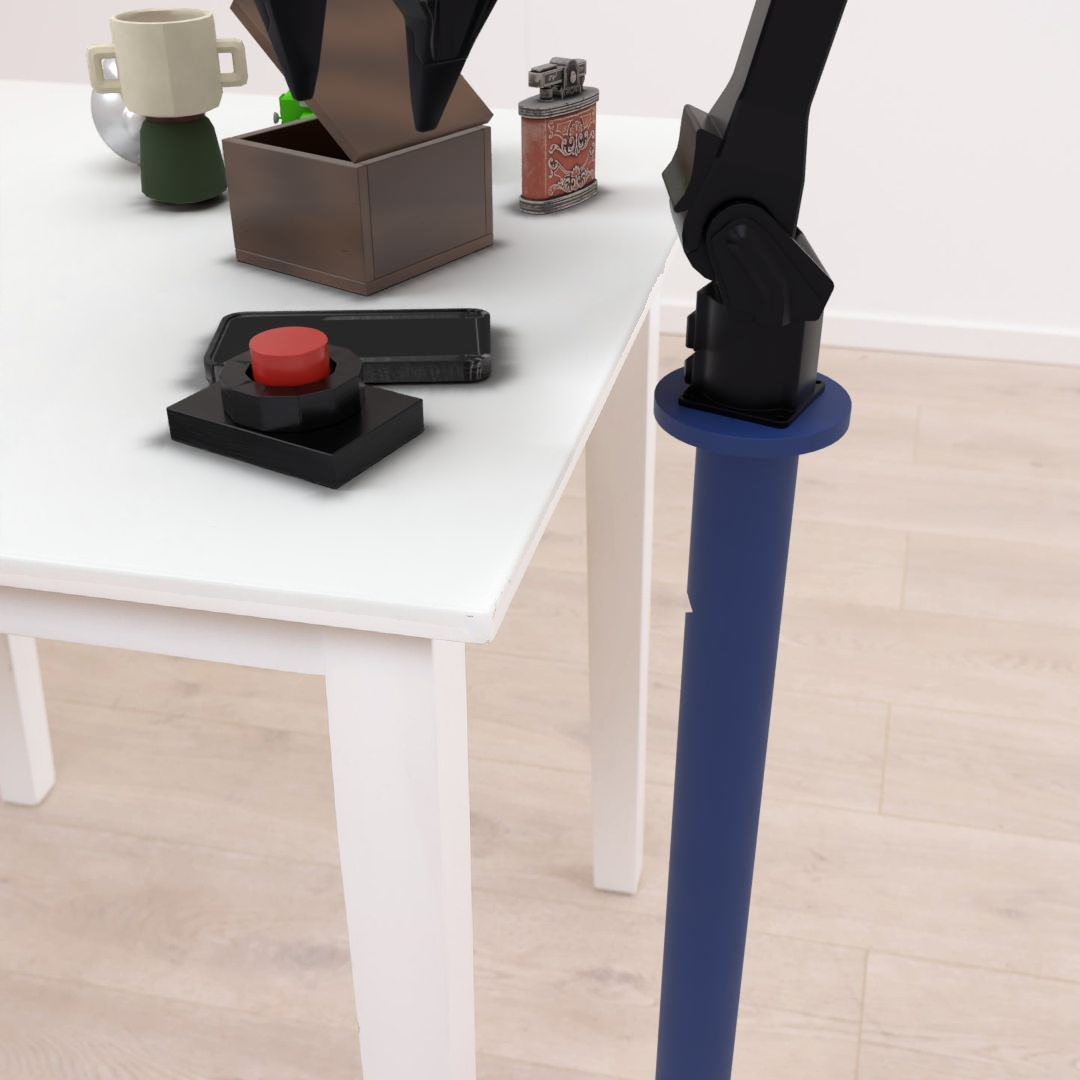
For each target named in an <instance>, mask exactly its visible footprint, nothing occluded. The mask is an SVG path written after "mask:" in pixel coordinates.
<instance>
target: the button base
mask: <svg viewBox="0 0 1080 1080" xmlns="http://www.w3.org/2000/svg"><path fill="white" fill-rule="evenodd" d="M328 348H329V359H330V370H331V373H330V375H329V376H327V377H325V378H323V379H321V380H320V381H318V382H313V383H308V384H304V385H299V386H269V385H266V384H262V383H258V382H255V381H254V378H253V372H252V364H251V355H250V350H248V351H246V352H244V353H242V354H240V355H238V356H236V357H234V358H232V359H230V360H228V361H226V363H225V365H224V367H223V368H222V370H221V372H220V374H219V381H218V382H216V383H214V384H212V383H211V384H210V385H208V386H206V387H204V388H202V389H200V390H198V391H196V392H194V393H193V394H190V395H189V396H186V397H184V398H182V399H180V400H178V401H176V402H174V403H172V404H171V405H169V406H167V407H166V408H165V410H166V416H167V422H168V430H169V435H170V439H171V440H173V441H176V442H180V443H183V444H187V445H190V446H193V447H196V448H199V449H203V450H206V451H210V452H213V453H216V454H220V455H223V456H225V457H226V456H227V457H230V458H233V459H236V460H238V461H239V460H240V461H243V462H246V463H249V464H252V465H256V466H259V467H262V468H266V469H269V470H273V471H276V472H279V473H283V474H286V475H289V476H293V477H295V478H299V479H303V480H304V481H305V480H306V481H309V482H312V483H315V484H319V485H323V486H325V487H329V488H332V489H336V488H338V487H340V486H341V485H343V484H344V483H346V482H348V481H350V480H351V479H352V478H354V477H355V476H356V475H358V474H360V473H361V472H363V471H364V470H366V469H368V468H369V467H370V466H372V465H373V464H375V463H377V462H378V461H379V460H381V459H382V458H384V457H386V456H387V455H388V454H390V453H392V452H394V451H395V450H396V449H398V448H399V447H401V446H402V445H404V444H405V443H407V442H409V441H410V440H412V439H413V438H415V437H416V436H417V435H419V434H421V433H423V431H425V417H424V416H425V415H424V414H425V413H424V399H423V398H422V397H421V398H420V397H416V396H412V395H408V394H405V393H400V392H397V391H393V390H389V389H385V388H381V387H377V386H373V385H369V384H367V383H364V372H363V361H362V360H361V359H360V358H359V357H357V356H356V355H355V354H354V353H353V352H352V351H351V350H349V349H347V348H342V347H338V346H334V345H330V344H328Z"/></svg>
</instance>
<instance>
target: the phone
mask: <svg viewBox="0 0 1080 1080" xmlns="http://www.w3.org/2000/svg"><path fill="white" fill-rule="evenodd" d="M281 327H307V328H313V329H317V330H319V331H321V332H323V333H324V334H325V335H326V336H327V338H328V344H330V345H334V346H338V347H342V348H347V349H349V350H351V351H352V352H353V353H354V354H355V355H356V356H357V357H359V358H360V359H361V360H362V361H363V372H364V384H368V383H369V384H373V383H423V382H424V383H425V382H428V383H429V382H432V383H433V382H434V383H435V382H436V383H437V382H474V381H478V380H483V379H486V378H487V377H489V376H490V375H491V373H492V343H491V342H492V338H491V337H492V336H491V314H490V312H489V311H487V310H485V309H482V308H477V307H457V308H456V307H454V308H453V307H452V308H451V307H450V308H449V307H448V308H447V307H445V308H392V309H391V308H389V309H387V308H386V309H383V308H382V309H327V310H326V309H325V310H322V309H321V310H320V309H319V310H315V309H313V310H260V311H259V310H254V311H253V310H251V311H248V310H247V311H237V312H231V313H228V314H226V315H224V316H223V317H221V319H220V321H219V324H218V325H217V328H216V330H215V332H214V334H213V337H212V339H211V341H210V343H209V345H208V347H207V349H206V351H205V353H204V355H203V365H204V373H205V380H206V381H207V382H208V383H210V384H211V385H212V384H214V383H216V382H218V381H219V374H220V372H221V370H222V368H223V367H224V365H225V363H226V361H228V360H230V359H232V358H234V357H236V356H238V355H240V354H242V353H244V352H246V351H248V350H250V347H249V343H250V340H251V339H252V338H253V337H254V336H256V335H257V334H259V333H262V332H264V331H267V330H271V329H275V328H281Z"/></svg>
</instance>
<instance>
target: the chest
mask: <svg viewBox="0 0 1080 1080" xmlns="http://www.w3.org/2000/svg"><path fill="white" fill-rule="evenodd" d="M221 148H222V157H223V162H224V166H225V172H226V180H227V196H228V203H229V211H230V217H231V218H230V219H231V221H230V222H231V227H232V236H233V244H234V252H235V259H236V261H239V262H243V263H246V264H250V265H254V266H256V267H260V268H264V269H268V270H272V271H275V272H279V273H283V274H286V275H289V276H293V277H297V278H300V279H303V280H306V281H307V280H308V281H311V282H315V283H319V284H322V285H326V286H329V287H334V288H337V289H341V290H344V291H347V292H351V293H355V294H359V295H361V296H367V297H368V296H370V295H373V294H376V293H377V292H379V291H382V290H384V289H386V288H389V287H391V286H394V285H397V284H399V283H402V282H404V281H407V280H409V279H411V278H413V277H416V276H418V275H420V274H423V273H425V272H428V271H430V270H433V269H435V268H438V267H440V266H443V265H445V264H448V263H450V262H452V261H454V260H457V259H459V258H462V257H465V256H467V255H470V254H472V253H474V252H476V251H479V250H482V249H484V248H487V247H489V246H492V245H494V204H493V159H492V158H493V157H492V155H493V154H492V127H491V126H490V125H486V124H483V125H480V126H477V127H474V128H470V129H467V130H464V131H461V132H457V133H454V134H451V135H447V136H444V137H441V138H438V139H434V140H431V141H428V142H425V143H421V144H418V145H415V146H412V147H408V148H405V149H402V150H399V151H395V152H392V153H389V154H385V155H382V156H379V157H376V158H372V159H369V160H366V161H363V162H359V163H356V164H354V163H353V162H352V161H351V160H350V158H349V157H348V156H347V155H346V153H345V152H344V151H343V150H342V148H341V147H340V146H339V145H338V143H337V142H336V141H335V140H334V138H333V137H332V136H331V135H330V133H329V132H328V131H327V130H326V128H325V127H324V126H323V125H322V123H321V122H320V121H319V120H318V118H317V117H316V116H315V115H314V116H310V117H306V118H302V119H299V120H295V121H291V122H287V123H283V124H281V123H280V124H275V125H273V126H269V127H265V128H261V129H257V130H253V131H249V132H245V133H241V134H237V135H233V136H230V137H225V138H222V139H221Z"/></svg>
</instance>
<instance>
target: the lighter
mask: <svg viewBox="0 0 1080 1080" xmlns="http://www.w3.org/2000/svg"><path fill="white" fill-rule="evenodd" d="M586 75H587V59H585V58H569V57H561V56H554V57H552V58H550V60H549V62H548V63H544V64H540V65H537V66H532V67H531V68H530V70H529V71H528V73H527V77H528V79H527V80H528V82H527V83H528V87H529V88H533V89H535V88H536V89H539V93H537V94H535V95H533V96H529V97H526V98H525V99H523V100H520V101H519V102H518V103H517V112H518V113H517V114H518V116H520V134H521V135H520V136H521V137H520V139H521V141H520V143H521V146H520V147H521V152H520V153H521V194H520V195H519V197H518V198H519V199H518V202H519V205H518V206H519V211H521V212H524V213H526V214H532V215H533V214H534V215H542V214H543V215H544V214H549V213H553V212H557V211H560V210H564V209H567V208H569V207H573V206H575V205H578V204H580V203H582V202H584V201H586V200H588V199H590V198H591V197H593V196H594V195H596V194H597V193H598V179H597V178H596V147H597V146H596V144H597V143H596V141H597V140H596V139H597V103H598V102H599V101H600V89H599V88H597V87H594V86H587V85H584V83H585V80H586Z"/></svg>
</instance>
